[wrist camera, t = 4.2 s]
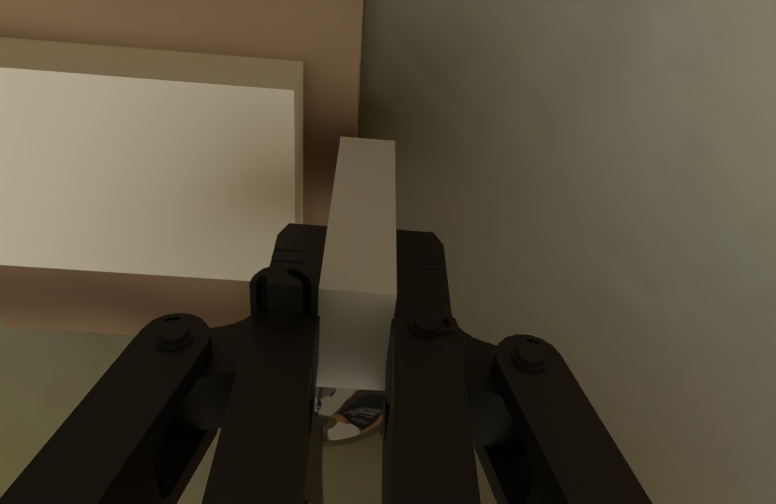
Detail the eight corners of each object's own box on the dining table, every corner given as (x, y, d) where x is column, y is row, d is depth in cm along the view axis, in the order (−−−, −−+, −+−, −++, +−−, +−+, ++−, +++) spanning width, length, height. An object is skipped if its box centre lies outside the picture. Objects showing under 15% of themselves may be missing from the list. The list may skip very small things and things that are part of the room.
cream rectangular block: (302, 244, 20) (295, 283, 19) (15, 225, 20) (-17, 263, 18) (303, 61, 17) (294, 90, 15) (-46, 33, 17) (-93, 59, 15)
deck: (347, 303, 25) (343, 348, 23) (37, 283, 25) (5, 327, 23) (373, -140, 16) (370, -130, 14) (-110, -187, 16) (-183, -182, 14)
